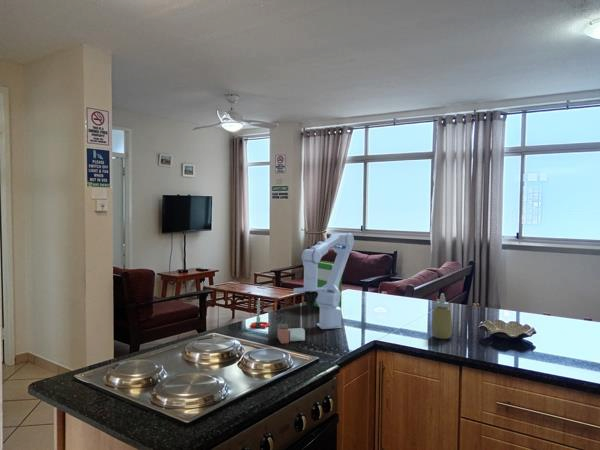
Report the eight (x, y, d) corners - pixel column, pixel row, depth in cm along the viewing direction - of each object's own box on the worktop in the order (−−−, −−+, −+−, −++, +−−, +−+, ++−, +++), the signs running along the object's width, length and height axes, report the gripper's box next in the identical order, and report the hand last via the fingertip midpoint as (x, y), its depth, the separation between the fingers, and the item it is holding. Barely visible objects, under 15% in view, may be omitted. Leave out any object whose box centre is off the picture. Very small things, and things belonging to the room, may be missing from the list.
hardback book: (341, 308, 229) (341, 263, 228) (330, 310, 225) (331, 264, 224) (320, 302, 243) (321, 260, 243) (310, 304, 239) (310, 261, 238)
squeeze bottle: (452, 335, 179) (452, 292, 179) (452, 341, 172) (453, 296, 171) (432, 333, 182) (432, 291, 182) (431, 338, 174) (431, 294, 174)
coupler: (296, 336, 177) (296, 321, 176) (301, 342, 169) (301, 327, 169) (276, 337, 175) (276, 323, 174) (280, 343, 167) (280, 328, 167)
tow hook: (253, 323, 198) (248, 328, 189) (254, 295, 199) (248, 298, 190) (271, 324, 197) (267, 329, 188) (272, 296, 197) (267, 299, 188)
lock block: (302, 337, 175) (302, 327, 175) (304, 340, 171) (304, 330, 171) (288, 338, 174) (288, 328, 174) (290, 341, 170) (290, 331, 170)
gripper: (322, 275, 188) (321, 307, 188) (291, 276, 182) (290, 308, 182) (329, 278, 181) (328, 310, 181) (297, 279, 176) (296, 312, 176)
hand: (309, 309), depth 181 cm, fingers closed
